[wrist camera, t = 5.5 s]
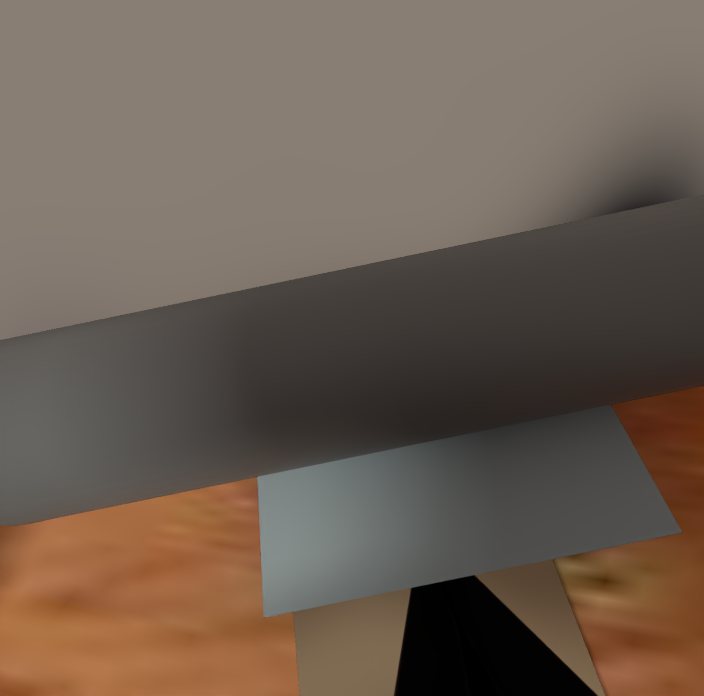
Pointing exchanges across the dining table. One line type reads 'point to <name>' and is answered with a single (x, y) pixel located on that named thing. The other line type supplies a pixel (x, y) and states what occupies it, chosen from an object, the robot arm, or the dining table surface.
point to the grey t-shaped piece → (382, 405)
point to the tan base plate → (389, 622)
